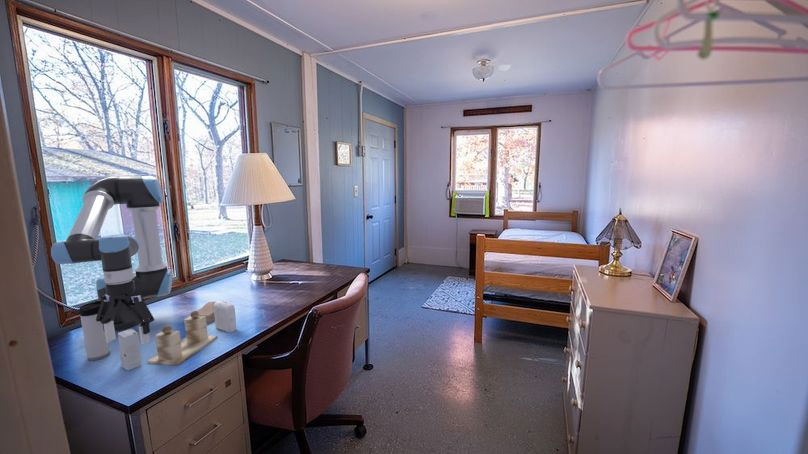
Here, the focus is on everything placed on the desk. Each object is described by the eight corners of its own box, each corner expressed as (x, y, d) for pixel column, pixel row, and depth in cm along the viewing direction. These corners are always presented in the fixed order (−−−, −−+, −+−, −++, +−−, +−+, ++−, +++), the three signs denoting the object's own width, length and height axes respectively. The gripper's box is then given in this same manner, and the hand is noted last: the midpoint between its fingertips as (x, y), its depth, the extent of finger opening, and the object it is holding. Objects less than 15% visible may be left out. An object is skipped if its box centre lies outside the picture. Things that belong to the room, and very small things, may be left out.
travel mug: (115, 350, 128) (107, 300, 125) (100, 360, 121) (92, 307, 118) (98, 351, 127) (90, 300, 124) (82, 360, 121) (73, 307, 118)
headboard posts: (147, 363, 119) (142, 329, 117) (190, 336, 139) (187, 306, 137) (177, 365, 117) (173, 331, 115) (217, 337, 137) (214, 308, 135)
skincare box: (120, 365, 118) (115, 333, 116) (136, 359, 121) (131, 328, 119) (127, 371, 114) (122, 337, 112) (143, 365, 118) (138, 332, 116)
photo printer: (238, 329, 144) (235, 301, 142) (228, 333, 141) (226, 305, 139) (223, 324, 149) (220, 297, 147) (214, 328, 146) (211, 300, 144)
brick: (209, 324, 150) (208, 314, 149) (190, 325, 150) (189, 314, 149) (227, 309, 166) (226, 300, 166) (209, 310, 166) (208, 301, 165)
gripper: (75, 283, 111) (85, 344, 114) (142, 286, 107) (150, 349, 110) (99, 277, 118) (108, 334, 121) (162, 279, 115) (169, 338, 118)
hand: (128, 341), depth 116 cm, fingers open, 13 cm apart
